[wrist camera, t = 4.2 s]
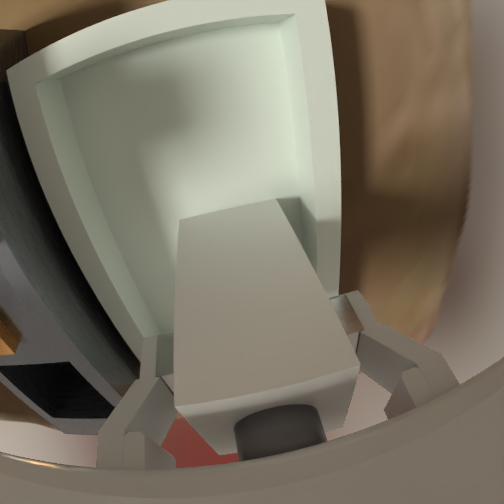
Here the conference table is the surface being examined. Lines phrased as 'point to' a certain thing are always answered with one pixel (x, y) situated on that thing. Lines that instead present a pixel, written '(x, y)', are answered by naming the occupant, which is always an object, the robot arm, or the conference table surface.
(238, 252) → the plug
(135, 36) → the tray
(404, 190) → the conference table surface
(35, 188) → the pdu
